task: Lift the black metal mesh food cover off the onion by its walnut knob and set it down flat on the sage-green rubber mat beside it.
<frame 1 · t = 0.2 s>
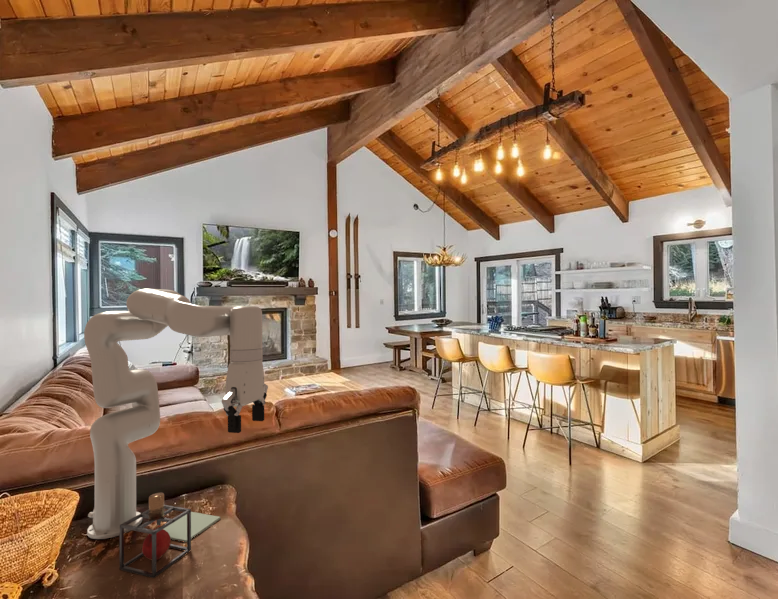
hand: (246, 426, 95), 31 cm above the table, tool pointing down, fingers open, 9 cm apart
mesh cover: (156, 559, 93), on the table
onion: (156, 560, 93), on the table
mat: (187, 526, 107), on the table
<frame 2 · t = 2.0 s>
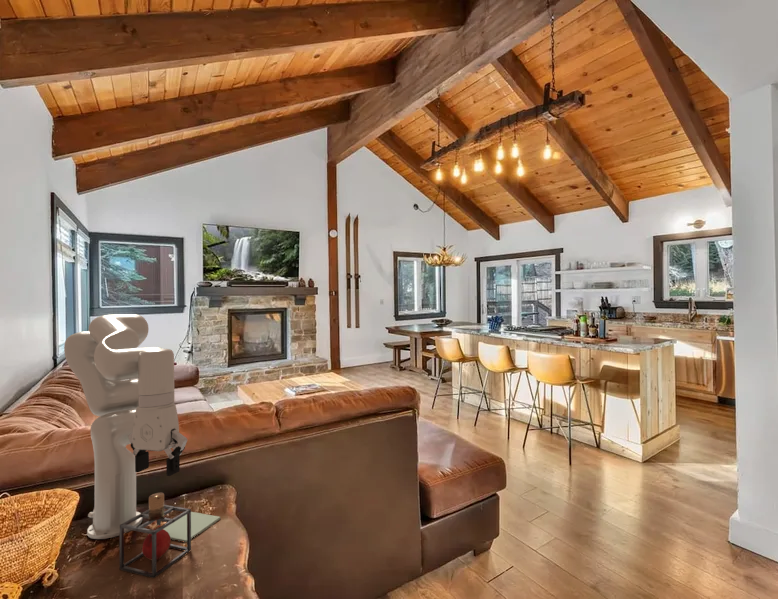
hand: (157, 471, 93), 21 cm above the table, tool pointing down, fingers open, 9 cm apart
nothing on the table moved.
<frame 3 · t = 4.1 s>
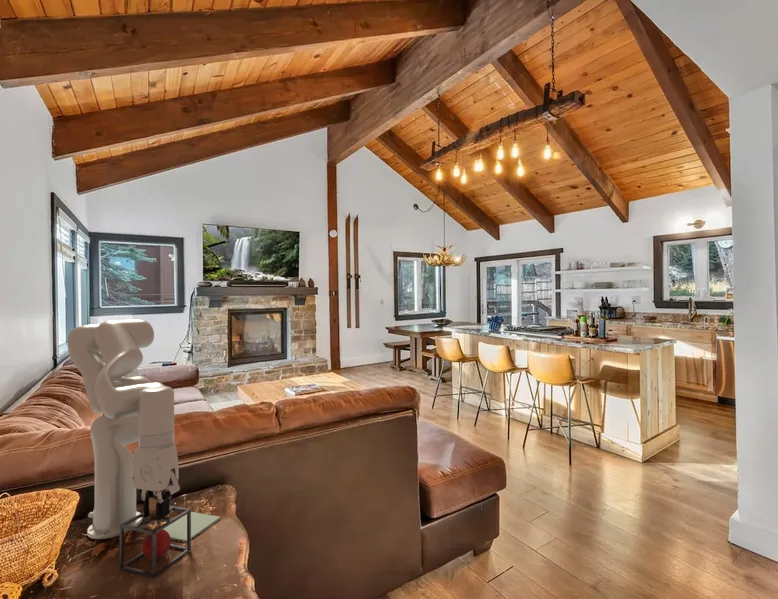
hand: (156, 515, 93), 10 cm above the table, tool pointing down, fingers closed on mesh cover, 3 cm apart
mesh cover: (156, 559, 93), on the table, touching gripper
everything else where it was.
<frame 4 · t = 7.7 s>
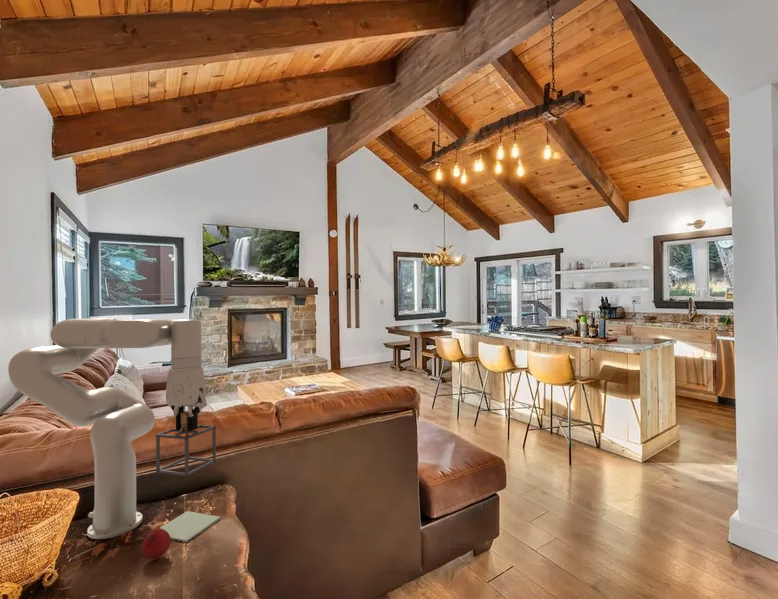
hand: (186, 428, 108), 27 cm above the table, tool pointing down, fingers closed on mesh cover, 3 cm apart
mesh cover: (186, 466, 108), point 16 cm above the table, touching gripper
everything else where it was.
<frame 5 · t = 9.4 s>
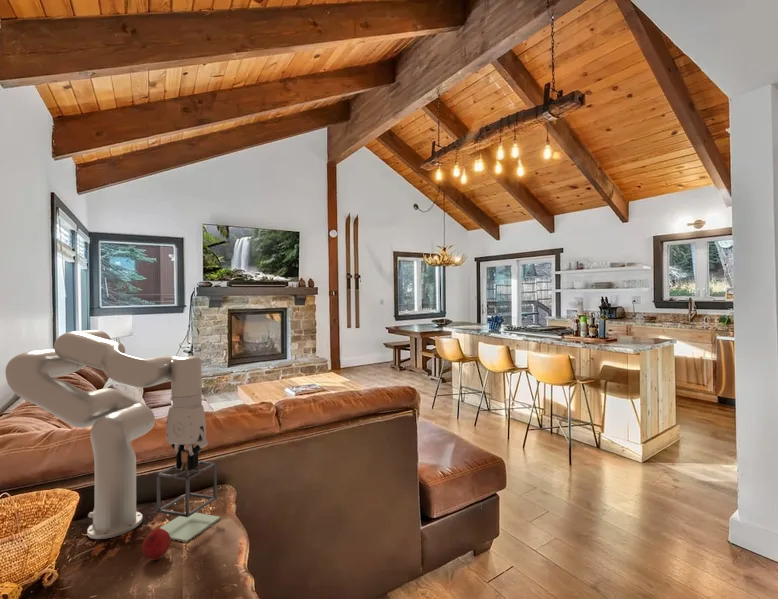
hand: (187, 467, 108), 16 cm above the table, tool pointing down, fingers closed on mesh cover, 3 cm apart
mesh cover: (187, 505, 107), point 6 cm above the table, touching gripper
everything else where it was.
when the fingers open (12 cm above the table, at t = 11.2 s): mesh cover drops 1 cm, resting on mat.
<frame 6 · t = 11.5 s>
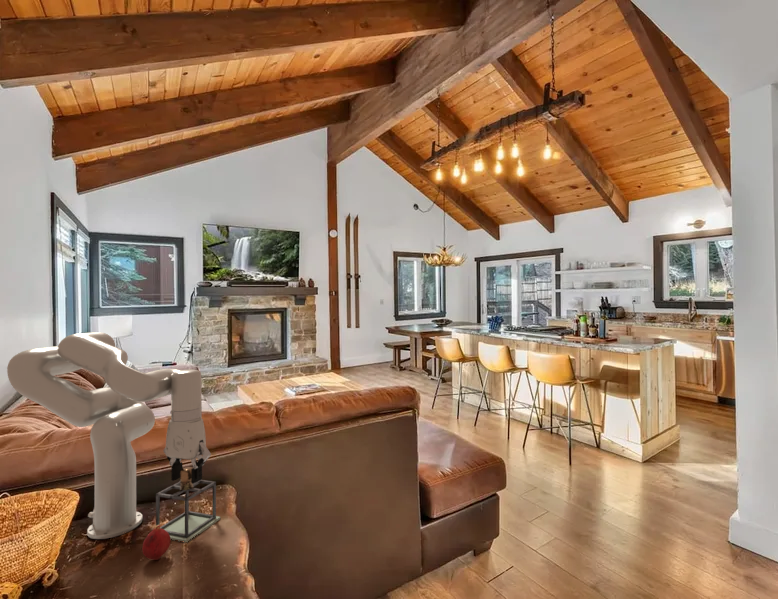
hand: (186, 479, 108), 13 cm above the table, tool pointing down, fingers open, 6 cm apart
mesh cover: (186, 524, 107), point 1 cm above the table, touching mat
everything else where it was.
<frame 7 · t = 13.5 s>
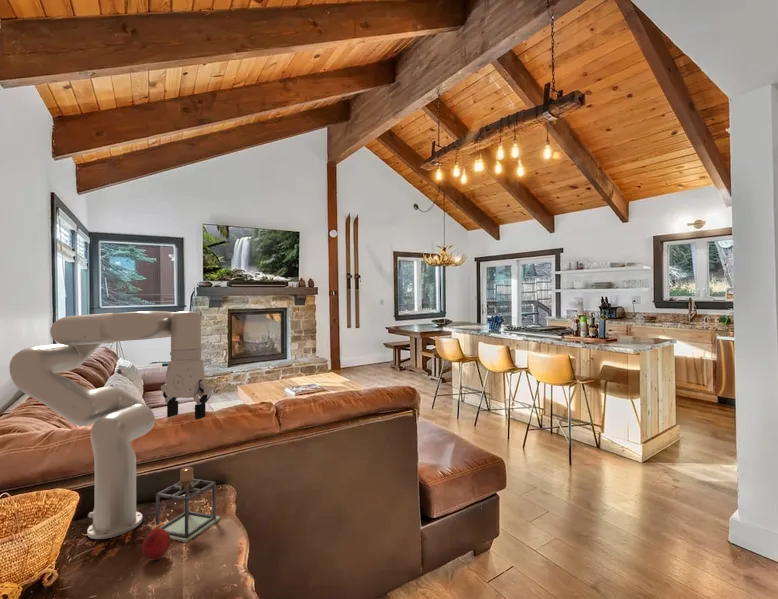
hand: (186, 417, 108), 30 cm above the table, tool pointing down, fingers open, 9 cm apart
nothing on the table moved.
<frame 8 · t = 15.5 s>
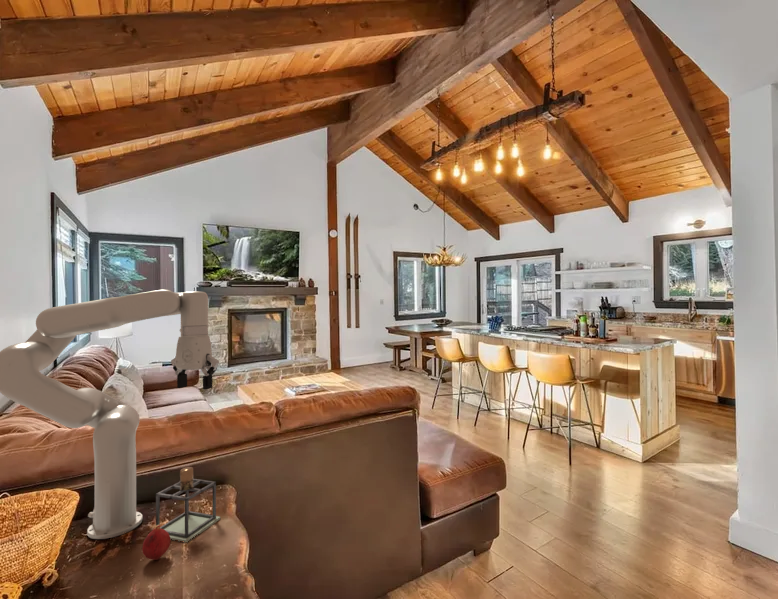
hand: (194, 388, 118), 36 cm above the table, tool pointing down, fingers open, 9 cm apart
nothing on the table moved.
at the end: mesh cover inside the target area on the mat (0.0 cm from its centre), point 0.6 cm above the mat's base; mesh cover tilted 0°; onion moved 0.2 cm from its start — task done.
